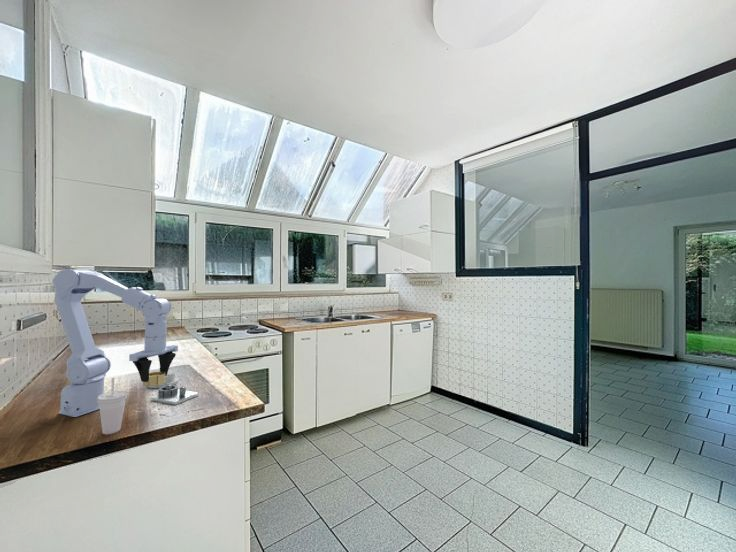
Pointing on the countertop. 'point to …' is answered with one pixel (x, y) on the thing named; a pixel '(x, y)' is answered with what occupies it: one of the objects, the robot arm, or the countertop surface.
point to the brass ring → (155, 378)
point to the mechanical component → (167, 380)
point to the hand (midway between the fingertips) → (154, 378)
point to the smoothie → (112, 409)
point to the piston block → (173, 395)
